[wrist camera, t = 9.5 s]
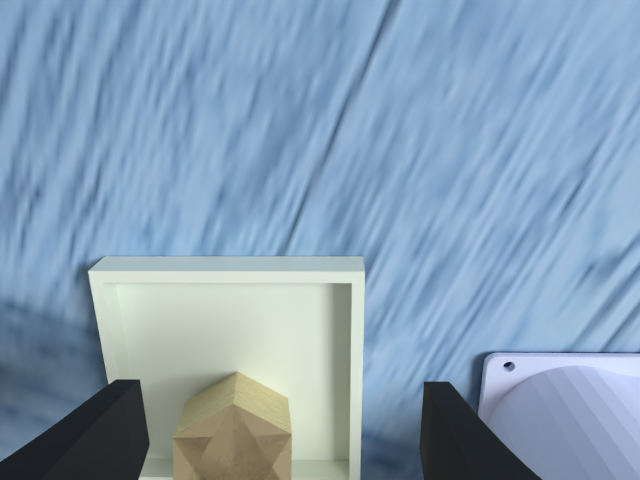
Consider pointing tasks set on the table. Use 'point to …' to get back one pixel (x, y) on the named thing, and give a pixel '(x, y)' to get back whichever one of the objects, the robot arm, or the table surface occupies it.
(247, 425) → the wooden polyhedron
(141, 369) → the parts tray
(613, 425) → the robot arm
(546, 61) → the table surface
